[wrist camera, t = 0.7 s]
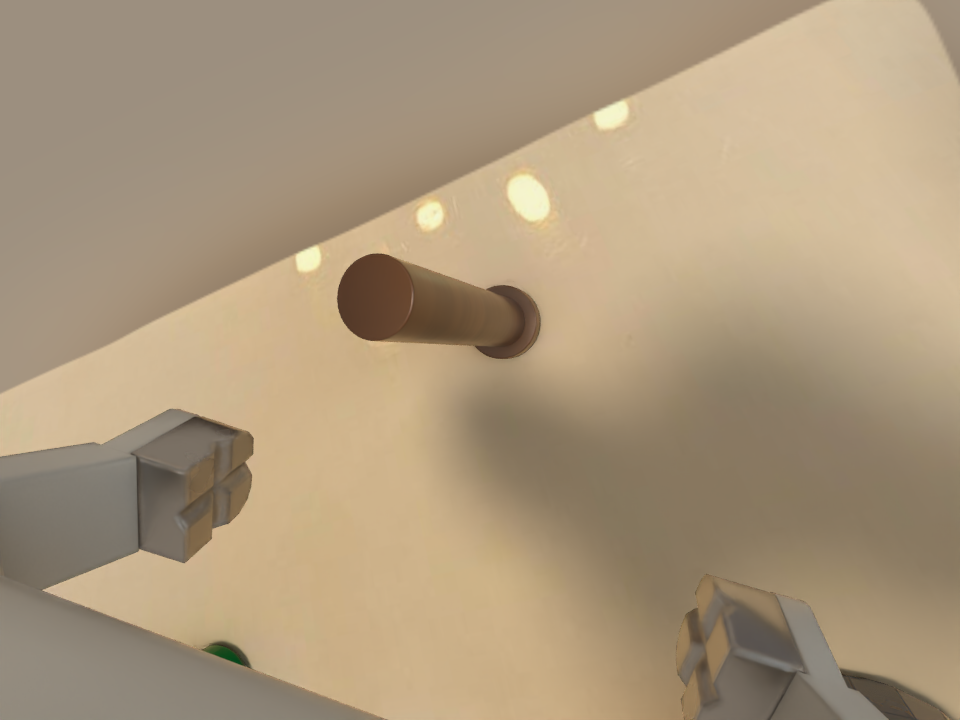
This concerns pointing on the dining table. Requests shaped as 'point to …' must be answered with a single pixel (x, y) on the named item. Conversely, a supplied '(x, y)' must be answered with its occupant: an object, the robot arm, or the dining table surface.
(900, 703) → the bowl
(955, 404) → the dining table surface
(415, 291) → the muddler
